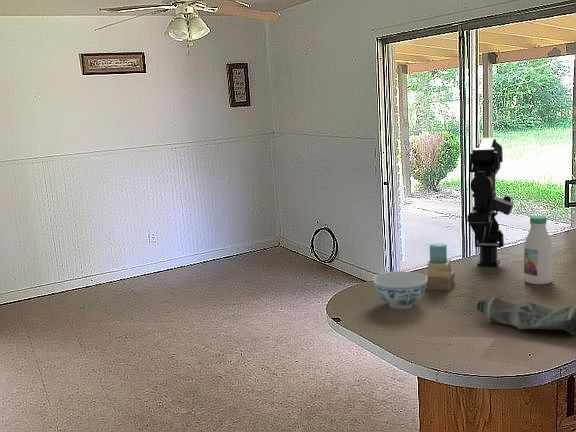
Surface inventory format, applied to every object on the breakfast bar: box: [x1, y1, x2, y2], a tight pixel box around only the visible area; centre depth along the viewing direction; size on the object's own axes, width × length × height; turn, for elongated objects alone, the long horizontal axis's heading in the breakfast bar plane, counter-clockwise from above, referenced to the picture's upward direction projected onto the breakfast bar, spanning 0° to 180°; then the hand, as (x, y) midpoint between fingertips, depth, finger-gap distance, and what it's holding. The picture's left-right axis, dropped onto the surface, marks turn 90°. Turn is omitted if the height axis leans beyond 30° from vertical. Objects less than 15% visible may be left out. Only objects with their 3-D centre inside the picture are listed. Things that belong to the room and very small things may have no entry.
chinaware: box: [372, 270, 427, 310], centre depth 171 cm, size 15×15×8 cm
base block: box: [425, 270, 456, 292], centre depth 186 cm, size 8×8×4 cm
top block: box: [427, 258, 452, 277], centre depth 186 cm, size 6×6×4 cm
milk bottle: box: [523, 215, 553, 285], centre depth 183 cm, size 8×8×20 cm
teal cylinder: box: [429, 243, 448, 264], centre depth 185 cm, size 5×5×5 cm
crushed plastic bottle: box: [476, 296, 576, 336], centre depth 150 cm, size 13×7×25 cm
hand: (483, 239), depth 187 cm, fingers open, 9 cm apart
